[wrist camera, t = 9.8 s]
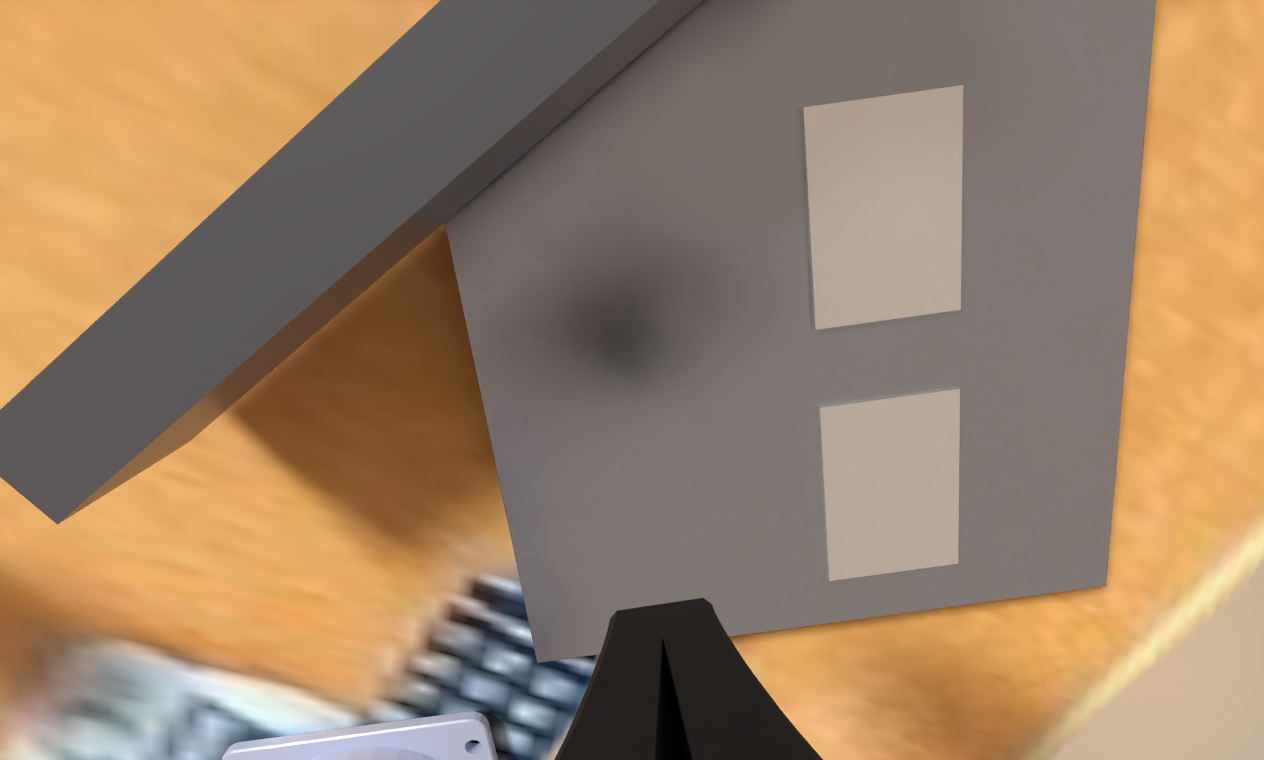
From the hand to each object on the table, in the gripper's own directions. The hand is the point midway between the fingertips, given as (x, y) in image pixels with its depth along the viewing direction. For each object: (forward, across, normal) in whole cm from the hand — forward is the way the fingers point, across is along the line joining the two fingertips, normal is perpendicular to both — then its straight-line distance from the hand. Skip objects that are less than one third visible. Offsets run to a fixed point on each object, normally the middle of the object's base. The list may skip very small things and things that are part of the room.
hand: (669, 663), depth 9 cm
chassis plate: (+9, -4, -2) cm, 10 cm away
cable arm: (+9, +3, -8) cm, 12 cm away
